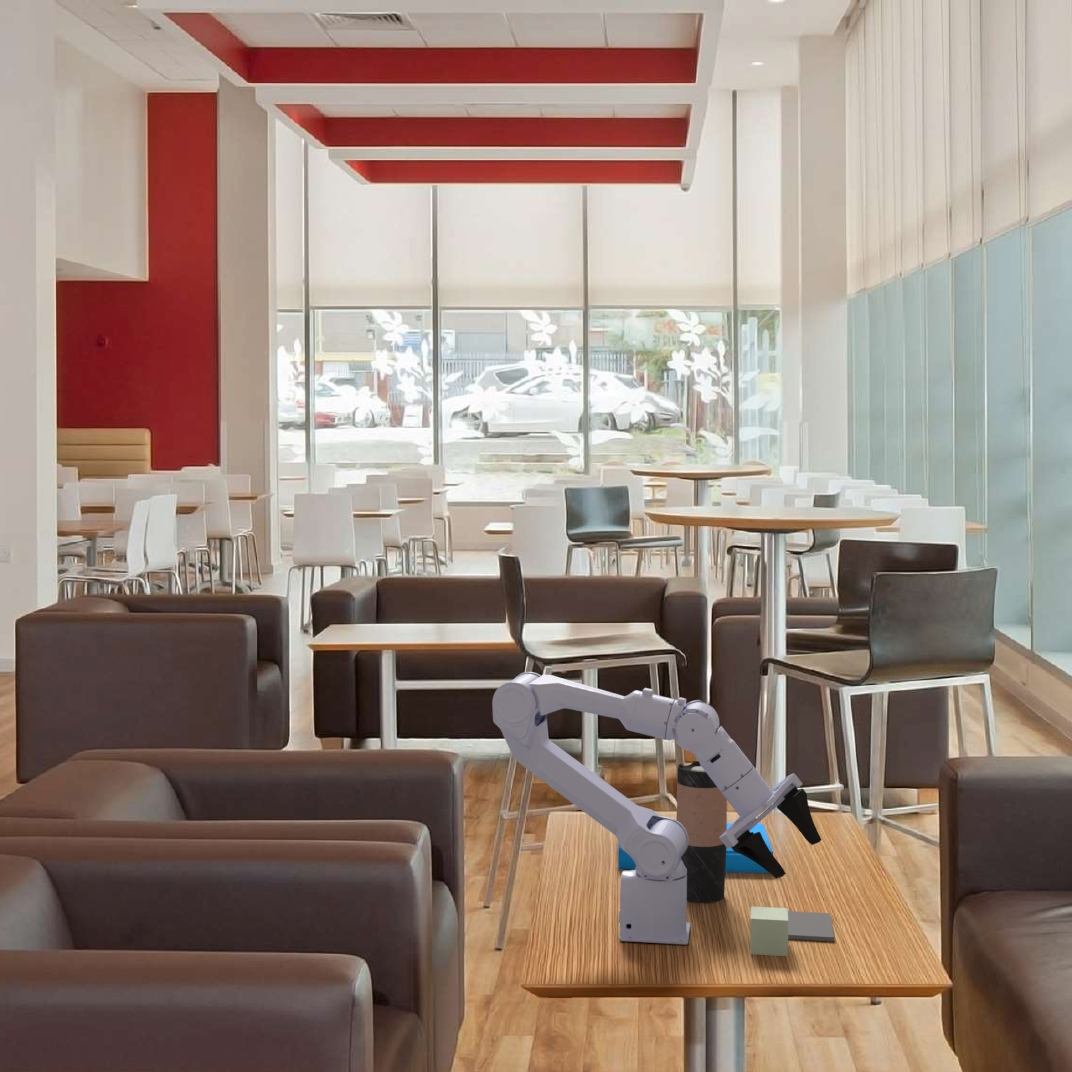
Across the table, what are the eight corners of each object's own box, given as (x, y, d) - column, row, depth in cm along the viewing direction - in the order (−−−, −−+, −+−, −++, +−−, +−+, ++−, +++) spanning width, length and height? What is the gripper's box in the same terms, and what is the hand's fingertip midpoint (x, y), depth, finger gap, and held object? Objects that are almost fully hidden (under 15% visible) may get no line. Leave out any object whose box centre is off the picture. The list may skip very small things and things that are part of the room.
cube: (750, 954, 194) (750, 918, 193) (750, 941, 199) (750, 906, 198) (787, 956, 193) (788, 920, 192) (786, 943, 198) (787, 908, 197)
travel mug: (724, 905, 213) (725, 773, 212) (673, 901, 215) (674, 770, 213) (727, 889, 221) (729, 761, 219) (678, 885, 222) (679, 759, 221)
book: (617, 820, 247) (763, 821, 245) (617, 845, 247) (763, 846, 246) (618, 849, 230) (774, 850, 228) (618, 875, 230) (774, 876, 229)
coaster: (761, 937, 200) (761, 933, 200) (760, 913, 210) (760, 909, 210) (834, 941, 198) (834, 937, 198) (830, 917, 208) (830, 913, 208)
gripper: (714, 803, 189) (778, 887, 188) (784, 742, 196) (847, 822, 195) (692, 814, 196) (753, 895, 194) (761, 754, 203) (821, 831, 201)
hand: (798, 859), depth 195 cm, fingers open, 7 cm apart
